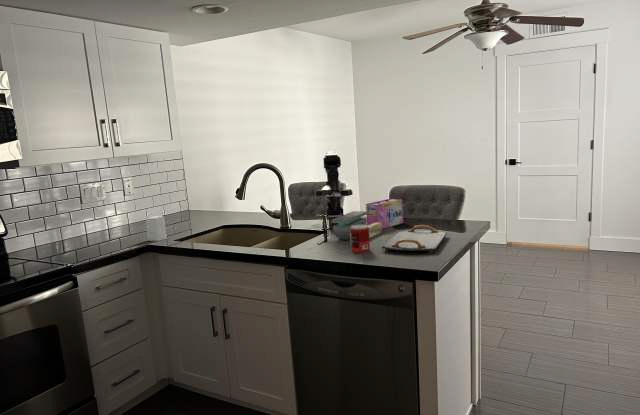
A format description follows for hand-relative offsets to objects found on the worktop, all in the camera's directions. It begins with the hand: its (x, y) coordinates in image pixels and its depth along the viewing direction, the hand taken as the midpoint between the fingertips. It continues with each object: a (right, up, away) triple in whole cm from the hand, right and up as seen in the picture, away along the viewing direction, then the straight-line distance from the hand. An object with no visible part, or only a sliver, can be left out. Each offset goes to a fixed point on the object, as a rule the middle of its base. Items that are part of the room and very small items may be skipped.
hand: (334, 209), depth 245 cm
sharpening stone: (+8, -14, -6) cm, 17 cm away
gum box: (+28, -9, +17) cm, 34 cm away
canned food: (+10, -18, -38) cm, 43 cm away
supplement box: (-98, -17, +21) cm, 101 cm away
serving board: (+35, -16, -32) cm, 50 cm away
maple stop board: (+15, -14, -11) cm, 23 cm away
